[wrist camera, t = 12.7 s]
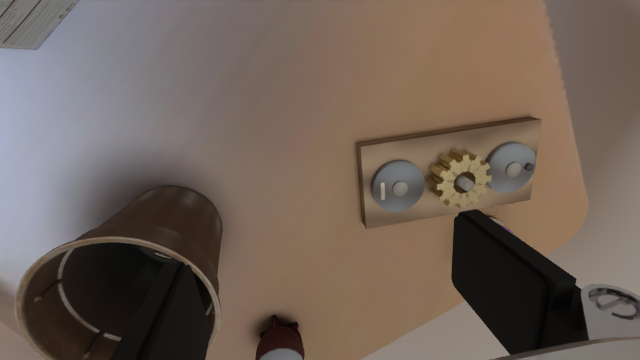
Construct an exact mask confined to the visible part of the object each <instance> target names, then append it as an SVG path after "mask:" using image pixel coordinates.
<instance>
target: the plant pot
mask: <svg viewBox="0 0 640 360" xmlns="http://www.w3.org/2000/svg"><path fill="white" fill-rule="evenodd" d="M222 231H223V229H222V221H221V219H220V217H219V215H218V213H217V211H216V209H215V207H214V206H213V204H212V203H211V202H210V201H209V200H207V199H206V198H205V197H203V196H202V195H200V194H198V193H196V192H194V191H192V190H189V189H186V188H181V187H174V186H164V187H160V188H157V189H153V190H150V191H147V192H145V193H143V194H141V195H140V196H139V197H137V198H136V199H135V200H134V201H132V202H131V203H130V204H128V205H127V206H126V207H124V208H123V209H122V210H120V211H119V212H118V213H116V214H115V215H114V216H113V217H111V218H110V219H109V220H107V221H106V222H105V223H103V224H102V225H101V226H99V227H98V228H95V229H93V230H90V231H88V232H87V233H85V234H83V235H82V236H80V237H79V238H77V239H76V240H74V241H71V242H68V243H66V244H63V245H61V246H59V247H57V248H55V249H53V250H51V251H50V252H48V253H47V254H45V255H44V256H42V257H41V258H40V259H38V260H37V261H36V262H35V263H34V264H33V265H32V266H31V267H30V268H29V269H28V270H27V271H26V273H25V274H24V275H23V277H22V279H21V281H20V284H19V286H18V289H17V292H16V296H15V303H14V311H15V318H16V321H17V324H18V327H19V329H20V331H21V333H22V335H23V337H24V338H25V340H26V341H27V342H28V344H29V345H30V346H31V347H32V348H33V350H34V351H35V352H36V353H37V354H38V355H39V356H41V357H42V358H43V359H44V360H110V358H111V356H112V354H113V353H114V351H115V349H116V347H117V345H118V344H119V342H120V340H121V338H122V336H123V334H124V333H125V331H126V329H127V327H128V325H129V324H130V322H131V320H132V318H133V316H134V315H135V314H136V312H138V311H139V309H140V307H141V305H142V303H143V301H144V300H145V298H146V296H147V294H148V292H149V290H150V289H151V287H152V285H153V283H154V281H155V279H156V277H157V276H158V274H159V272H160V270H161V268H162V267H163V265H165V264H170V263H175V262H181V261H182V262H184V263H185V265H190V266H191V268H192V271H193V274H194V277H195V281H196V284H197V287H198V290H199V293H200V296H201V299H202V302H203V306H204V309H205V312H206V315H207V318H208V321H209V324H210V332H211V333H210V340H209V344H208V349H207V352H208V350H209V349H210V348H211V346H212V345H213V343H214V341H215V339H216V337H217V334H218V331H219V327H220V321H221V307H220V301H219V297H218V293H219V283H218V278H217V272H218V262H219V254H220V245H221V238H222ZM153 253H159V254H163V255H165V256H167V257H172V258H173V259H171V260H169V259H165V258H161V257H159V256H156V255H154V254H153Z"/></svg>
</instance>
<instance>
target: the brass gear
mask: <svg viewBox="0 0 640 360" xmlns="http://www.w3.org/2000/svg"><path fill="white" fill-rule="evenodd" d="M437 157H438V158H439V160H440V161H438V163H439V164H438V163H437V164H436V165H435V164H432V163H431V165H430V167H429V169H430V170H432V174H431V176H426V182H427V183H428V184H430V185H431V186H432V187H430V188H429V191H430V192H431V193H432V194H433V195H434V196H435V197H436V198H438V199H439V200H440V201H441V202H443V203H444V204H445V205H446V206H448V207H450V208H453V207H454V205H456V206H457V207H458V208H460V209H462V208H466V203H468V201H469V202H471V203H472V204H475V203H477V202H478V201H479V200H478V198H477V197H478V194H479V195H480V194H481V193H483V194H486V192H487V191H488V189H487V188H486V187H485V185H484V184H486V182H488V181H491V177H492V175H490V174H488V173H487V172H486V170H488V169H489V168H490V166H489V164H488V163H487V162H485V161H483V160H481V159H482V157H479V156H477V155H475V154H473V153H470V152H468V151H466V150H463V151H460V150H458V149H450V155H448V156H447V155H446V154H444V153H441V154H440V155H439V156H437ZM460 173H462V175H463V176H464V177H466V178H468V179H469V180H471V181H473V182H474V188H473V189H472V190H470V191H466V190H464V189H462V188H461V187H459V186H458V185H456V184H454V180H455V178H456V177H457V176H458V175H459V174H460Z"/></svg>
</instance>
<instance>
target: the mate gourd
mask: <svg viewBox="0 0 640 360" xmlns="http://www.w3.org/2000/svg"><path fill="white" fill-rule="evenodd" d="M271 318H272V322H273V324H272V328H271V329H270V330H269V331H266V332H263V333H261V335H260V338H261V341H260V343H259V345H258V347H257V351H256V360H304V348H303V343H302V338H301V335H300V333H299V331H298V329H297V328H298V327H299V326H298V323H297V322H295V323H291V324H288V325H285V326H281V325H280V323H279V320H278V318H277V316H276V315H273V316H271Z"/></svg>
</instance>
